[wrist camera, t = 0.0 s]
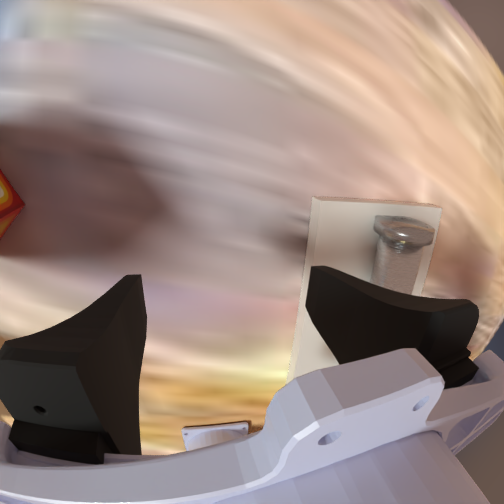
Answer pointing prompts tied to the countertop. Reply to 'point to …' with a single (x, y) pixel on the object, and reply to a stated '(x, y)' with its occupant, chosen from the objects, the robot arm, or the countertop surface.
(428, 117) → the countertop surface
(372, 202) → the mounting board
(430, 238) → the ball valve
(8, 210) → the baking soda box
